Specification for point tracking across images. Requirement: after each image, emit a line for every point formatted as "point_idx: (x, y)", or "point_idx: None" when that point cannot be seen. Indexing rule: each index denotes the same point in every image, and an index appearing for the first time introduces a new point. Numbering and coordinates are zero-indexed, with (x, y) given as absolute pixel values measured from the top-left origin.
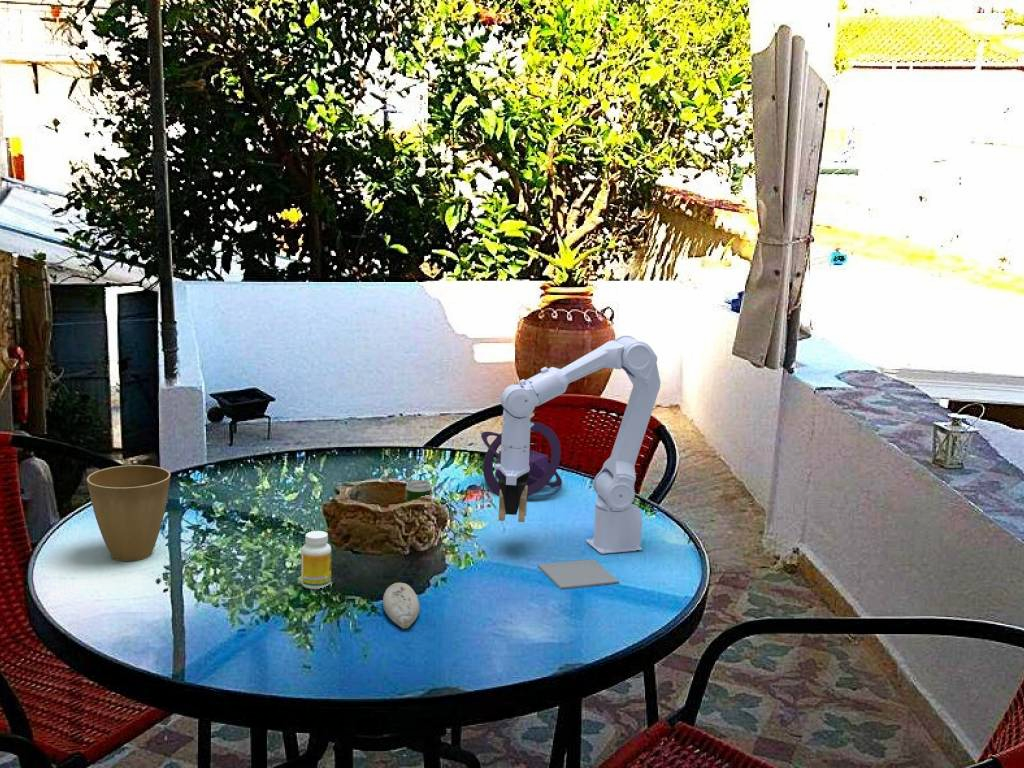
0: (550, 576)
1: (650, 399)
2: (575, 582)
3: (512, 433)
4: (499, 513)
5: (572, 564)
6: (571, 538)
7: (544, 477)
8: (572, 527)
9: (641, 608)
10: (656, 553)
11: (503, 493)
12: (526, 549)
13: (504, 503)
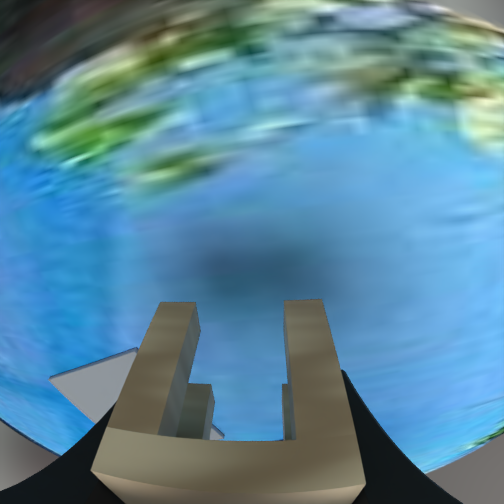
0: (80, 370)
1: None
2: (82, 403)
3: None
4: (148, 334)
5: None
6: (379, 394)
7: None
8: (452, 379)
9: (66, 444)
10: None
11: (49, 470)
12: (269, 313)
13: (105, 414)
